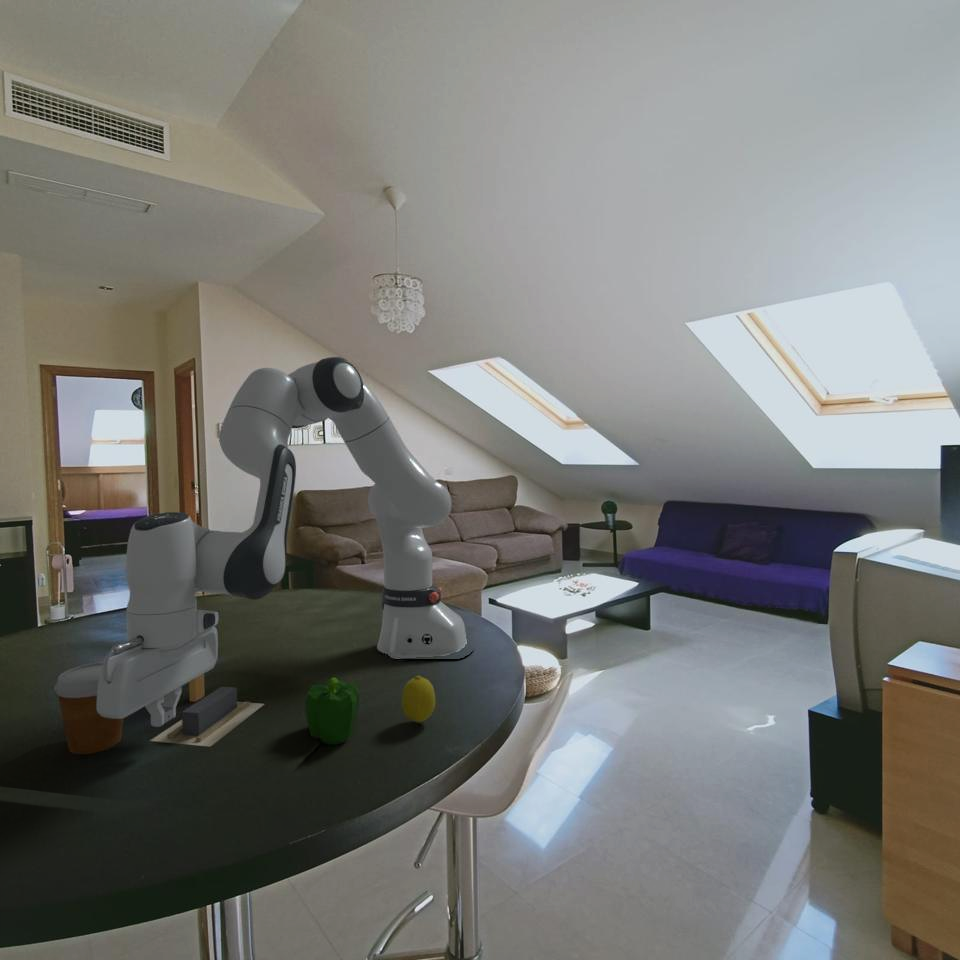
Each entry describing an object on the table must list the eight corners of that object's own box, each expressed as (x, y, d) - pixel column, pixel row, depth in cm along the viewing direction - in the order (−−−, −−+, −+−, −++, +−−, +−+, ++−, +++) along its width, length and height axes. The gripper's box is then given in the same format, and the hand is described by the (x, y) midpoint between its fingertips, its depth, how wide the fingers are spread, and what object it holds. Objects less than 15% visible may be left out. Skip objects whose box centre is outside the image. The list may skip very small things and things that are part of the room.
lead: (237, 708, 99) (236, 687, 99) (198, 736, 89) (198, 713, 89) (222, 707, 100) (221, 686, 99) (182, 734, 90) (182, 711, 90)
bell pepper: (310, 726, 95) (310, 665, 95) (362, 724, 96) (361, 664, 95) (298, 752, 87) (298, 686, 87) (354, 750, 88) (354, 684, 87)
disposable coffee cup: (40, 760, 85) (38, 678, 84) (103, 731, 93) (101, 657, 93) (86, 773, 81) (83, 688, 81) (147, 741, 90) (145, 665, 90)
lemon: (421, 734, 92) (421, 685, 92) (394, 726, 95) (394, 677, 95) (442, 721, 97) (442, 674, 97) (415, 713, 100) (415, 667, 100)
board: (264, 710, 101) (264, 700, 101) (210, 754, 86) (209, 742, 86) (212, 706, 103) (212, 696, 103) (150, 748, 88) (149, 736, 88)
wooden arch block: (204, 702, 104) (204, 667, 104) (195, 708, 102) (195, 672, 102) (161, 698, 106) (161, 664, 106) (152, 704, 103) (151, 668, 103)
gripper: (125, 651, 73) (126, 760, 74) (225, 610, 93) (225, 696, 94) (82, 648, 74) (83, 755, 75) (189, 608, 94) (190, 693, 95)
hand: (163, 722), depth 84 cm, fingers closed
